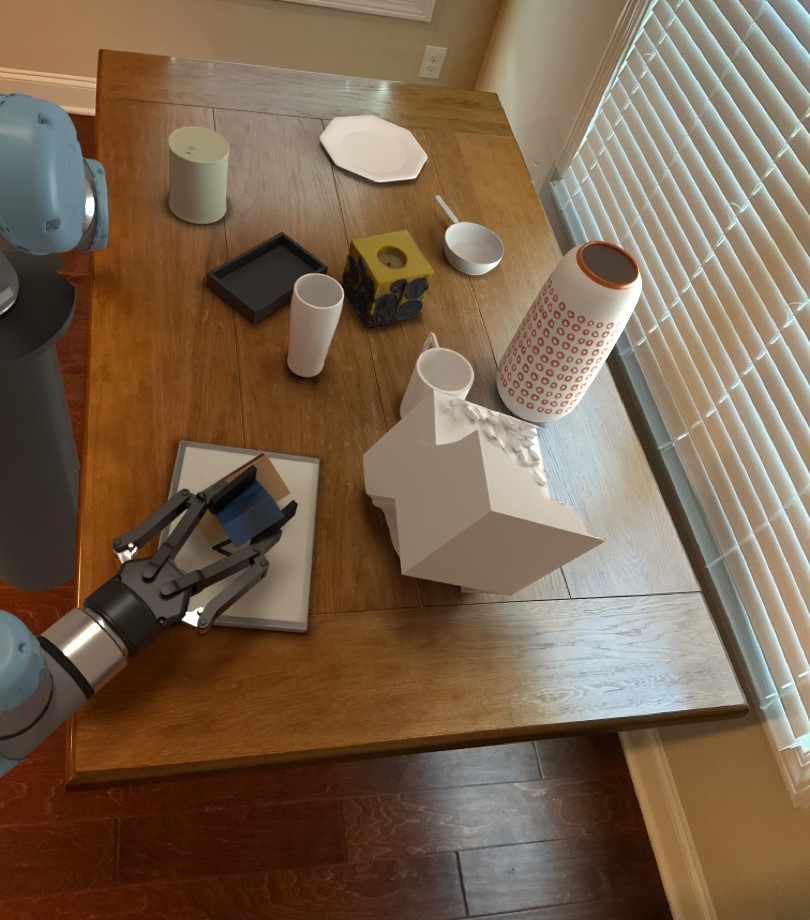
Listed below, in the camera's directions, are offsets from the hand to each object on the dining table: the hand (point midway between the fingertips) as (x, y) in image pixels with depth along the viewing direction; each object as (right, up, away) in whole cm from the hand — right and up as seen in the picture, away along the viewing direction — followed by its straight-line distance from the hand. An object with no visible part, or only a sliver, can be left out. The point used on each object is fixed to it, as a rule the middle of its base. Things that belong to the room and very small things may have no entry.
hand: (273, 490), depth 85 cm
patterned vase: (+34, +13, +32) cm, 49 cm away
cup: (+18, +12, +27) cm, 34 cm away
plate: (+9, +62, +59) cm, 86 cm away
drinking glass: (0, +17, +26) cm, 31 cm away
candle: (+11, +29, +37) cm, 48 cm away
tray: (-7, +31, +33) cm, 46 cm away
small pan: (+24, +42, +50) cm, 69 cm away
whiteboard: (-6, -6, +8) cm, 11 cm away
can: (-19, +45, +39) cm, 63 cm away
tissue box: (+20, -8, +14) cm, 25 cm away
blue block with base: (-6, -1, +6) cm, 8 cm away
